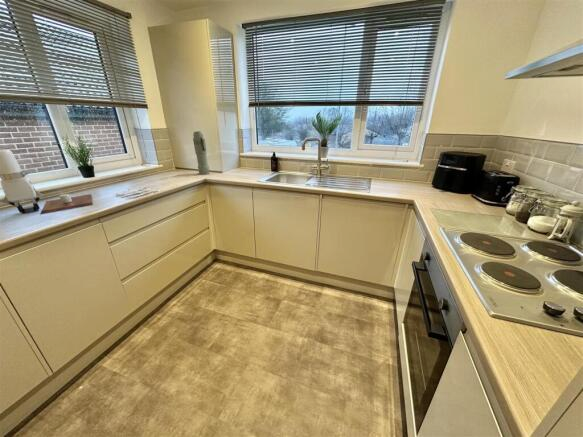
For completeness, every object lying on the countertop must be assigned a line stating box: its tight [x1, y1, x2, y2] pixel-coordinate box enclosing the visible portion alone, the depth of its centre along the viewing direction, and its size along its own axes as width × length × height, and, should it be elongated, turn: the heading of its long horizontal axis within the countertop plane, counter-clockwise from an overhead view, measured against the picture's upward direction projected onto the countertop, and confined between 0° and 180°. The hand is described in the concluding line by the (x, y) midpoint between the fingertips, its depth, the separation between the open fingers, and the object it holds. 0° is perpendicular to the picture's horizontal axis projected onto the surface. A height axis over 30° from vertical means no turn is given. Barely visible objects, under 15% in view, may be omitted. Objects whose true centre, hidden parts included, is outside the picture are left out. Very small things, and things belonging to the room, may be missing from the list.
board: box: [39, 193, 94, 215], centre depth 136 cm, size 22×22×2 cm
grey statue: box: [192, 130, 210, 176], centre depth 203 cm, size 9×12×35 cm
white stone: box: [59, 193, 72, 203], centre depth 135 cm, size 4×4×4 cm
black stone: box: [22, 205, 37, 214], centre depth 121 cm, size 4×4×4 cm
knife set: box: [114, 181, 178, 199], centre depth 161 cm, size 26×35×1 cm
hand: (30, 211), depth 121 cm, fingers closed on black stone, 4 cm apart
